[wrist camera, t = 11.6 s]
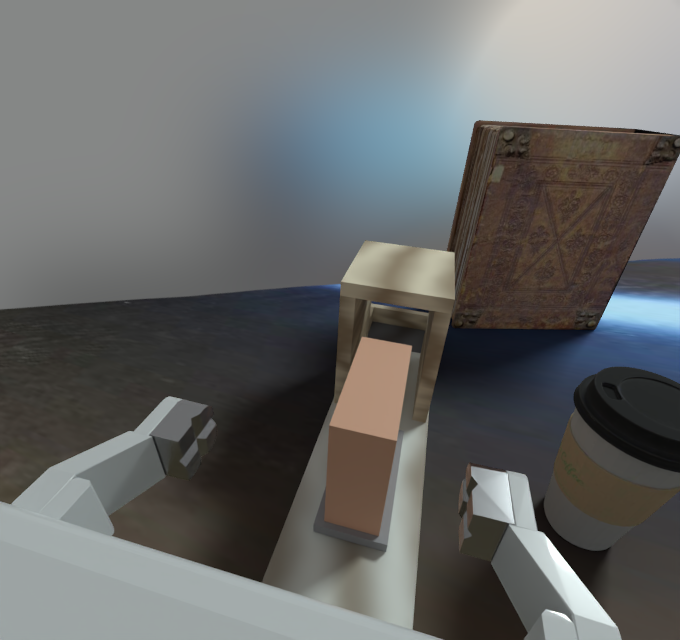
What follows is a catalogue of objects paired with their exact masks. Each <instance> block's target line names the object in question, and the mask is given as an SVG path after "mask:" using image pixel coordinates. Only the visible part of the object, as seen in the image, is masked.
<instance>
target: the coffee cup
mask: <svg viewBox="0 0 680 640" xmlns="http://www.w3.org/2000/svg"><path fill="white" fill-rule="evenodd" d="M574 403H575V406H576V408H575V411H574V413H573V414H572V415H571V417H570V419H569V422H568V425H567V428H566V431H565V434H564V436H563V439H562V442H561V445H560V448H559V451H558V454H557V457H556V460H555V463H554V472H553V475H552V478H551V481H550V484H549V487H548V490H547V493H546V496H545V499H544V511H545V514H546V517H547V519H548V521H549V523H550V525H551V526H552V528H553V529H554V530H555V531H556V532H557V533H558V534H559V535H560V536H561V537H562V538H564V539H565V540H567V541H568V542H570V543H571V544H574V545H576V546H578V547H581V548H584V549H587V550H592V551H601V550H605V549H607V548H609V547H610V546H612V545H613V544H614V543H615V542H616V541H617V540H619V539H620V538H621V537H622V536H623V535H625V534H626V533H627V532H628V531H629V530H630V529H632V528H633V527H634V526H636V525H639V524H640V523H642V522H644V521H645V520H646V519H647V518H648V517H650V516H651V515H652V514H653V513H654V512H655V511H657V510H658V509H659V508H660V507H661V506H662V505H664V504H665V503H666V502H667V501H668V500H669V499H671V498H672V497H673V496H674V495H675V494H676V493H678V492H679V491H680V384H679V383H677V382H675V381H673V380H671V379H668V378H666V377H663V376H661V375H658V374H655V373H652V372H649V371H645V370H641V369H636V368H630V367H610V368H606V369H603V370H601V371H600V372H598V373H597V374H595V375H591V376H589V377H587V378H585V379H584V380H583V381H582V382H581V384H580V385H579V386H578V387H577V388H576V390H575V392H574Z"/></svg>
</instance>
